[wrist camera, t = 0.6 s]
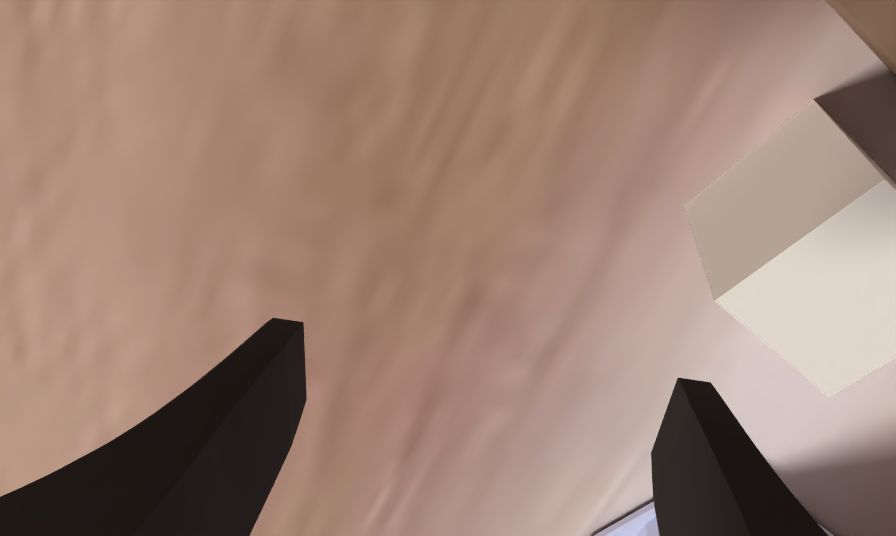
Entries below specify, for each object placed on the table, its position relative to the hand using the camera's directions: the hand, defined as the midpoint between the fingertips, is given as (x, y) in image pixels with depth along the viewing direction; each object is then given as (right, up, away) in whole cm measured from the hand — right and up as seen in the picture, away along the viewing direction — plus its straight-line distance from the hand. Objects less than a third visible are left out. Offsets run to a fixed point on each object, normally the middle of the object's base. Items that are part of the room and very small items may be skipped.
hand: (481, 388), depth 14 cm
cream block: (+10, +4, +7) cm, 13 cm away
